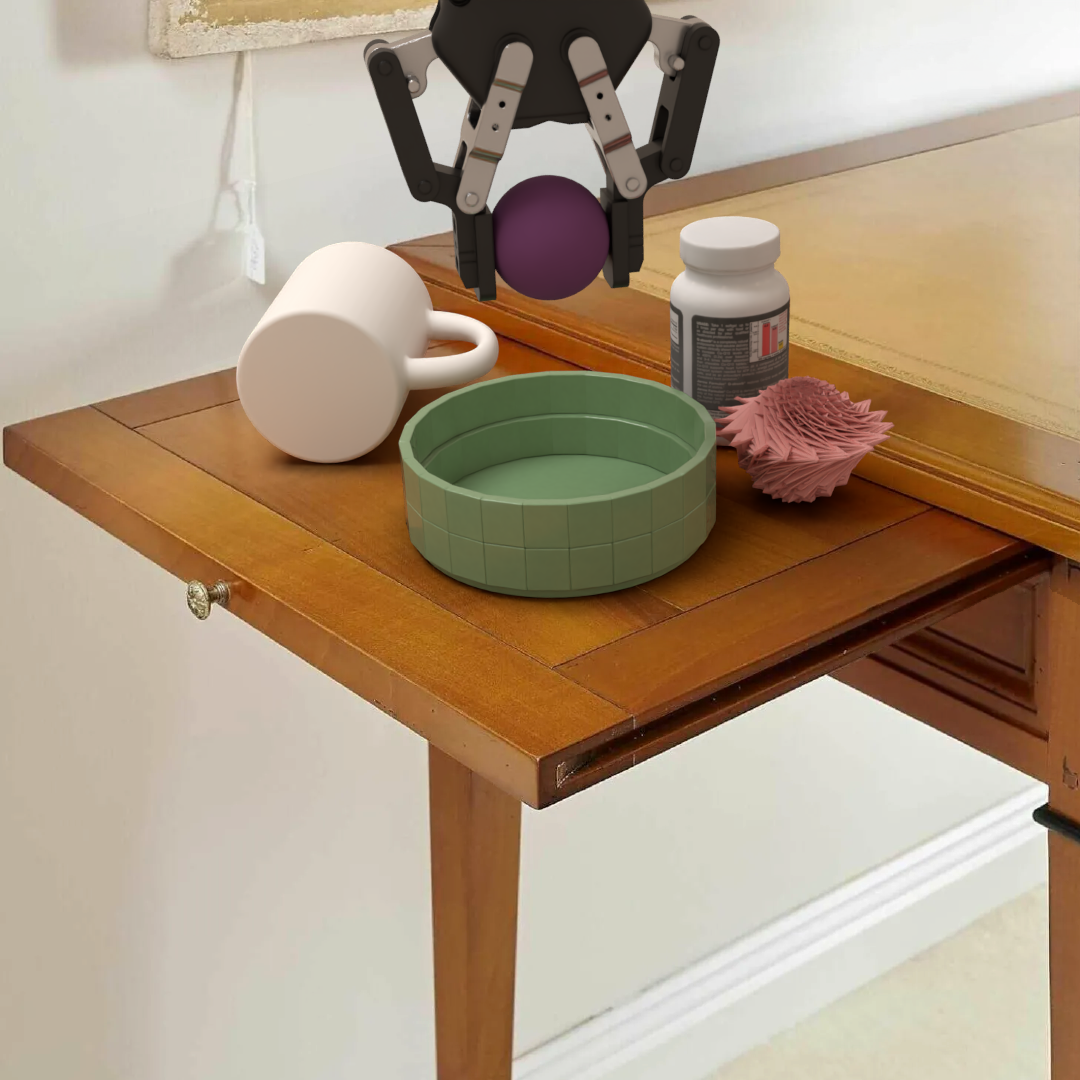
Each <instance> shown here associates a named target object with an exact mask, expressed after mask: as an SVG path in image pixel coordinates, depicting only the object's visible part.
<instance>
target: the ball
mask: <svg viewBox="0 0 1080 1080" xmlns="http://www.w3.org/2000/svg"><path fill="white" fill-rule="evenodd" d="M492 210H493V211H491V213H492V222H493V239H494V257H495V272H496V273H497V274H498V276H499V277H500V278H501V280H502V281H503V282H504V283H505V284H506V285H507V286H508V287H510V288H511V289H512V290H514V291H515V292H517V293H518V294H521V295H523V296H525V297H527V298H529V299H535V300H539V301H559V300H563V299H567V298H569V297H573V296H575V295H576V294H578V293H580V292H582V291H584V290H585V289H586V288H587V287H588V286H590V285H591V284H592V283H593V282H594V281H595V279H597V277H598V276H599V274H600V273H601V272H602V268H603V266H604V264H605V262H606V259H607V256H608V252H609V247H610V229H609V224H608V219H607V216H606V214H605V211H604V209H603V208H602V206H601V204H600V200H598V198H597V197H596V196H595V195H594V194H593V192H591V191H590V190H589V188H587V187H585V185H583V184H582V183H580V182H578V181H576V180H574V179H572V178H568V177H566V176H562V175H556V174H541V175H536V176H532V177H531V176H530V177H528V178H526V179H524V180H522V181H519V182H517V183H516V184H514V185H513V186H511V187H510V188H509V189H508V190H507V191H506V192H505V193H504V194H503V195H502V196H501V197H500V199H499V200H498V201H497V203H496V204H495V206H494V207H493V209H492Z"/></svg>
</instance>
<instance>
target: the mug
mask: <svg viewBox="0 0 1080 1080" xmlns="http://www.w3.org/2000/svg"><path fill="white" fill-rule="evenodd" d="M431 341H459V342H460V341H461V342H467V343H471V344H473V345H475V346H476V347H475V348H474V349H472V350H470V351H467V352H463V353H459V354H452V355H447V356H436V357H425V356H426V353H427V351H428V349H429V347H430V345H431ZM499 345H500V344H499V341H498V338H497V335H496V333H495V332H494V331H493V330H492V329H491V328H490V326H488V325H487V324H485V323H484V322H482V321H480V320H478V319H476V318H473V317H470V316H467V315H465V314H460V313H455V312H449V311H440V310H434V306H433V303H432V299H431V296H430V293H429V290H428V288H427V286H426V284H425V283H424V281H423V279H422V278H421V276H420V275H419V274H418V272H417V271H416V270H415V269H414V268H413V267H412V266H411V265H410V264H409V263H408V262H407V261H406V260H405V259H404V258H402V257H400V256H399V255H397V254H396V253H395V252H393V251H391V250H389V249H387V248H385V247H382V246H380V245H377V244H373V243H369V242H364V241H342V242H337V243H332V244H328V245H326V246H323V247H321V248H319V249H317V250H316V251H314V252H312V253H310V254H309V255H308V256H307V257H306V258H304V259H303V260H302V261H301V262H300V263H299V264H298V265H297V267H296V268H295V270H294V271H293V272H292V274H291V275H290V277H288V280H287V281H286V282H285V283H284V285H283V286H282V288H281V289H280V291H279V292H278V294H277V295H276V297H275V298H274V299H273V301H272V302H271V304H270V305H269V307H268V308H267V310H266V311H265V312H264V314H263V315H262V317H261V318H260V319H259V322H258V323H257V324H256V325H255V327H254V328H253V330H252V332H251V333H250V334H249V336H248V337H247V338H246V340H245V342H244V344H243V346H242V348H241V350H240V353H239V356H238V360H237V363H236V372H235V373H236V374H235V376H236V377H235V381H236V389H237V394H238V398H239V401H240V404H241V407H242V409H243V411H244V414H245V415H246V417H247V419H248V420H249V422H250V423H251V424H252V426H253V428H254V429H255V430H256V431H257V432H258V433H259V434H260V435H261V436H262V437H263V438H264V439H265V440H266V441H267V442H268V443H270V444H271V445H272V446H274V447H275V448H276V449H278V450H280V451H282V452H284V453H286V454H287V455H290V456H292V457H294V458H296V459H300V460H304V461H307V462H313V463H319V464H320V463H321V464H335V463H344V462H349V461H353V460H355V459H358V458H360V457H362V456H364V455H366V454H368V453H370V452H372V451H373V450H375V449H376V448H377V447H379V445H380V444H382V443H383V442H384V441H385V440H386V439H387V437H388V436H389V435H390V433H391V432H392V431H393V429H394V427H395V426H396V423H397V421H398V420H399V417H400V414H401V412H402V410H403V408H404V406H405V403H406V401H407V398H408V396H409V394H410V392H411V391H418V390H419V391H420V390H432V389H433V390H434V389H442V388H448V387H454V386H459V385H463V384H467V383H470V382H474V381H476V380H478V379H481V378H483V377H484V376H486V375H488V374H489V373H490V372H491V371H492V370H493V368H495V365H496V363H497V361H498V359H499V354H500V353H499V351H500V347H499Z"/></svg>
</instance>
